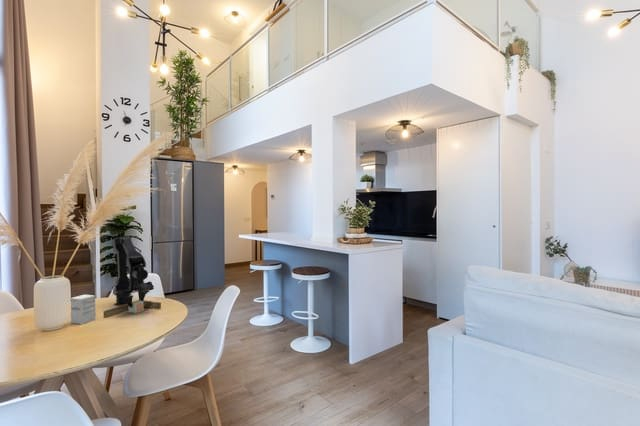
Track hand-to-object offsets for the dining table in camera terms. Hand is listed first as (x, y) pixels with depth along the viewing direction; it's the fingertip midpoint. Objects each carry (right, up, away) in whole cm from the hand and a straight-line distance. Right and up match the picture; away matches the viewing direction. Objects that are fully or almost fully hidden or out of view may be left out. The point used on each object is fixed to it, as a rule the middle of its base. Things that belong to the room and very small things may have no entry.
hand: (136, 306), depth 170 cm
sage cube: (0, -3, 0) cm, 3 cm away
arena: (0, -3, -2) cm, 4 cm away
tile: (0, -3, 0) cm, 3 cm away
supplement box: (-18, -4, -15) cm, 23 cm away
